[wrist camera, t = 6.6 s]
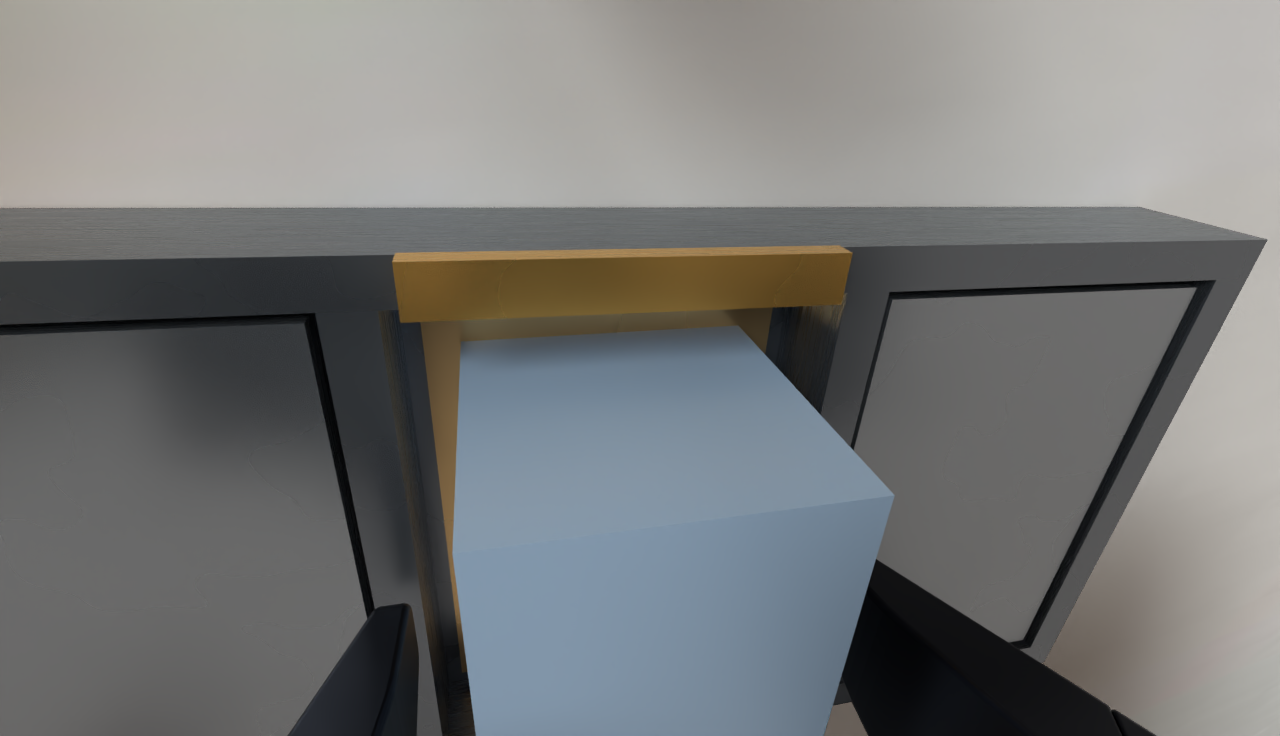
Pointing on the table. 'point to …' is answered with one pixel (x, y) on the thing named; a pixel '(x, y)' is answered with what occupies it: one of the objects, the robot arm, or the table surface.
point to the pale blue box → (654, 538)
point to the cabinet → (428, 415)
